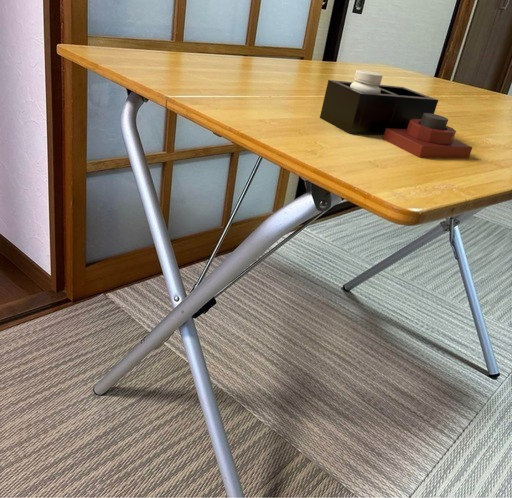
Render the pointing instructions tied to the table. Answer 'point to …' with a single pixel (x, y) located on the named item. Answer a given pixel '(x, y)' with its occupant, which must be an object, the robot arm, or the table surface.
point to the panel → (427, 141)
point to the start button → (434, 121)
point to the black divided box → (373, 108)
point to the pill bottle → (367, 81)
